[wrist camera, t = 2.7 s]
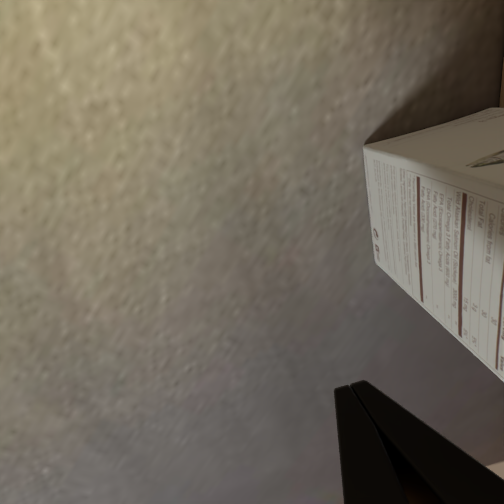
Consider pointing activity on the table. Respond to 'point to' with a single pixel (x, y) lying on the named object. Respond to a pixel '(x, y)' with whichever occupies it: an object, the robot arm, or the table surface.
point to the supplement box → (445, 224)
